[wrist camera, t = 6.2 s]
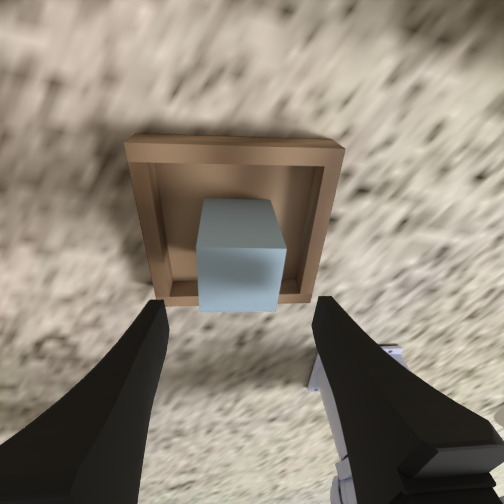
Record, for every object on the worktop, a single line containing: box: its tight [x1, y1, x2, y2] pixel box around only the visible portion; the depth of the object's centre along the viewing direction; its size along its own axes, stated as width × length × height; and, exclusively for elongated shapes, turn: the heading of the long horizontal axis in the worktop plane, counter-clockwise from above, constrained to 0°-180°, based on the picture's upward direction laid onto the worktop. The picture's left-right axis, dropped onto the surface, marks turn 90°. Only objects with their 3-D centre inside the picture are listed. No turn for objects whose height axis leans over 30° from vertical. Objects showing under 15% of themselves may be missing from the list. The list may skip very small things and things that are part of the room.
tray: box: [124, 133, 345, 307], centre depth 19 cm, size 12×12×2 cm
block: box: [196, 198, 287, 312], centre depth 17 cm, size 4×4×6 cm
